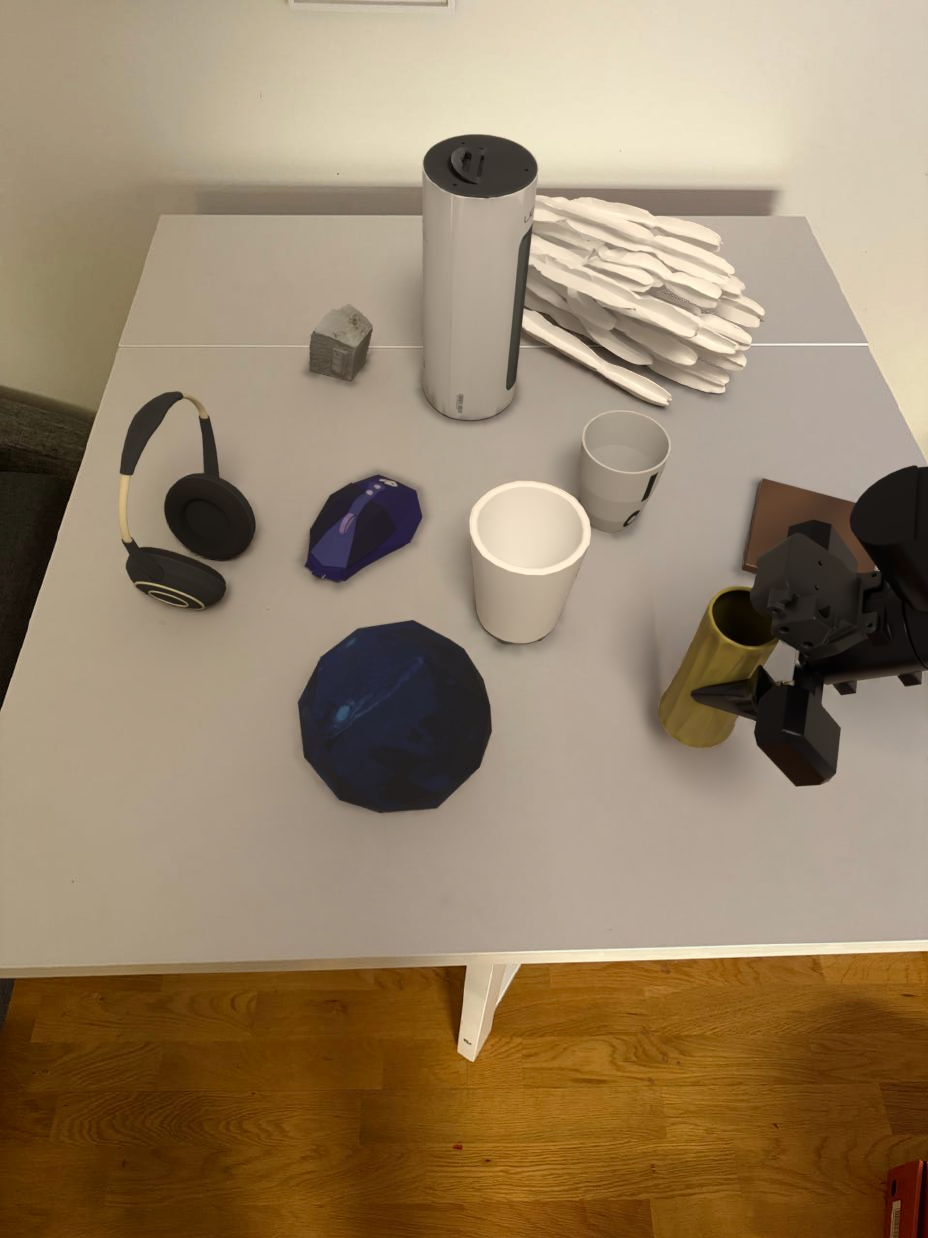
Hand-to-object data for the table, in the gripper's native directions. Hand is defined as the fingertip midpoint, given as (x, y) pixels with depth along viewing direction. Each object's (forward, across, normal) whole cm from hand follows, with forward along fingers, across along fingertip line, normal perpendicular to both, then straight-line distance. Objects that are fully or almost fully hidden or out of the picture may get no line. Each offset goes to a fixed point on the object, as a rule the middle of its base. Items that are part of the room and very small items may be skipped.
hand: (700, 665), depth 64 cm
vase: (+4, 0, +6) cm, 7 cm away
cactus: (+21, -49, -5) cm, 53 cm away
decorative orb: (+22, +10, -7) cm, 25 cm away
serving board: (+1, -26, +15) cm, 30 cm away
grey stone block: (+38, -32, -23) cm, 55 cm away
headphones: (+39, -1, -24) cm, 46 cm away
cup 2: (+16, -22, 0) cm, 27 cm away
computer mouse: (+31, -11, -15) cm, 36 cm away
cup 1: (+19, -7, -3) cm, 21 cm away
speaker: (+29, -34, -13) cm, 47 cm away
